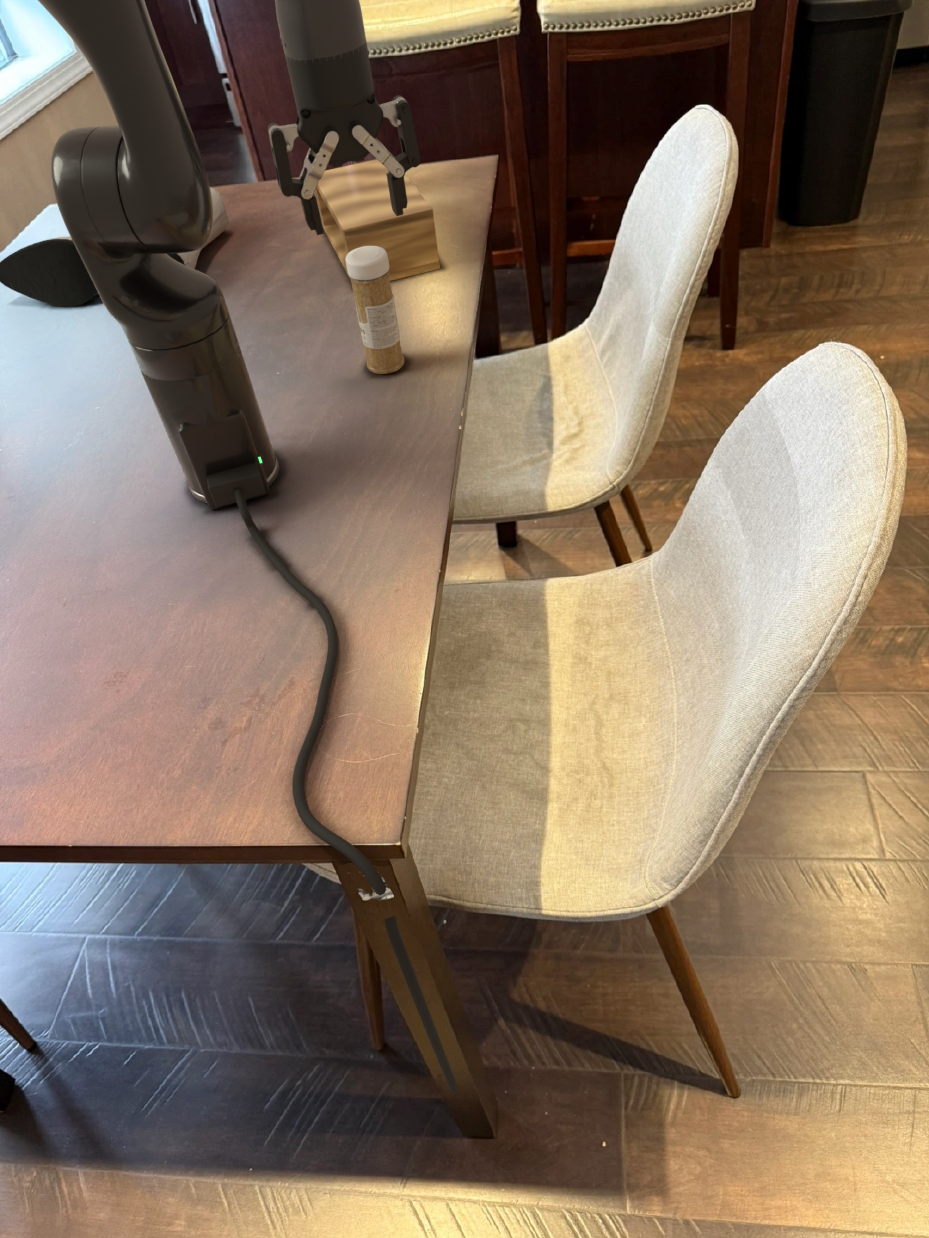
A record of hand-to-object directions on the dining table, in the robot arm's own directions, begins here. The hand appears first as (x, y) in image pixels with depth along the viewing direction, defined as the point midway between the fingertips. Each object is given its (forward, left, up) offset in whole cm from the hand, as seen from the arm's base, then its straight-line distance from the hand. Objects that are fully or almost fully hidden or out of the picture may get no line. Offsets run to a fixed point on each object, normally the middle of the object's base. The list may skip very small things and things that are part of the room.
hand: (359, 222), depth 90 cm
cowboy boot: (+46, +28, -17) cm, 56 cm away
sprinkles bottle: (0, 0, -17) cm, 17 cm away
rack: (+32, -7, -17) cm, 37 cm away
